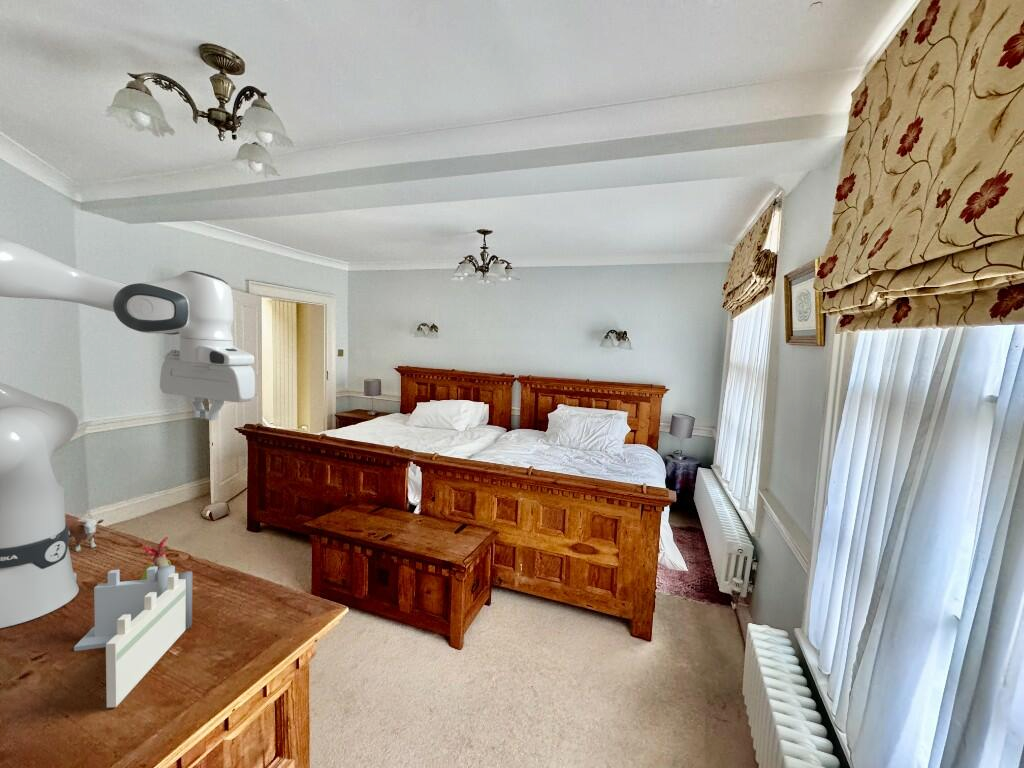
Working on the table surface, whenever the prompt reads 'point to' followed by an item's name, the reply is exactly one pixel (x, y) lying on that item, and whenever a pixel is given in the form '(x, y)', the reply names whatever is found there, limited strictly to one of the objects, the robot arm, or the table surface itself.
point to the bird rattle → (156, 557)
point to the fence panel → (147, 636)
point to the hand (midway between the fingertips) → (206, 419)
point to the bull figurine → (82, 530)
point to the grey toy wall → (121, 603)
